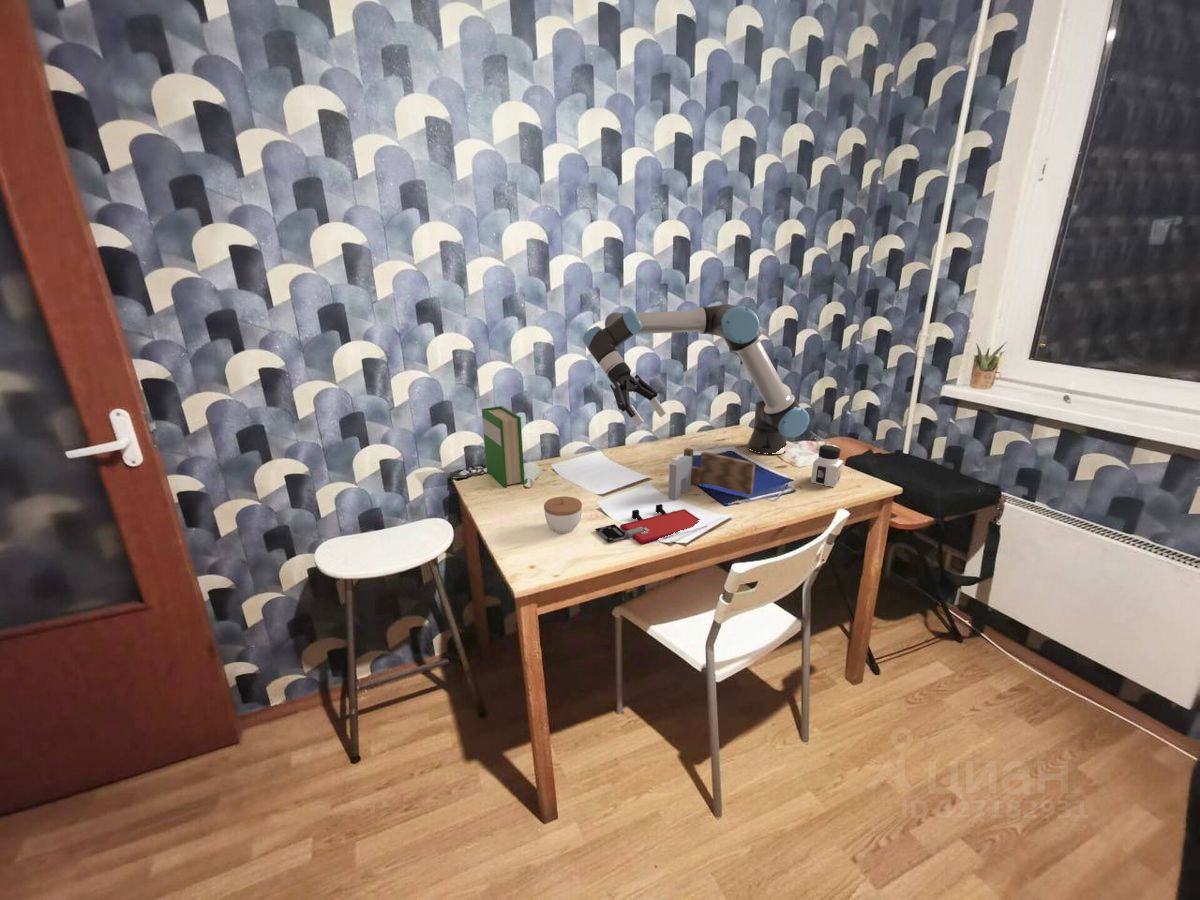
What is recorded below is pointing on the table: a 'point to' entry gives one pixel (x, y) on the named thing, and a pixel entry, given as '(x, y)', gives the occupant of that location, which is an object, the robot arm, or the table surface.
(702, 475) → the walnut slotted board
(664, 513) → the red board with handle
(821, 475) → the container
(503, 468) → the hardback book
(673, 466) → the grey slotted plate
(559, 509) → the lidded jar
